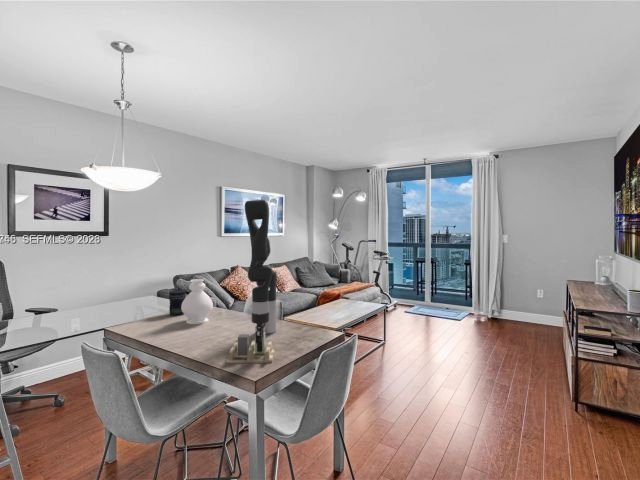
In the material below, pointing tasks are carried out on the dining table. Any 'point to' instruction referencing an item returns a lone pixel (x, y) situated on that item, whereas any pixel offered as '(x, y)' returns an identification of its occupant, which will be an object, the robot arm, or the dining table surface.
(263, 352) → the sage plug
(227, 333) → the dining table surface
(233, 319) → the dining table surface
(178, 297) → the storage jar
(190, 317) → the decorative vase
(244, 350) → the charcoal plug
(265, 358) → the slot rack
